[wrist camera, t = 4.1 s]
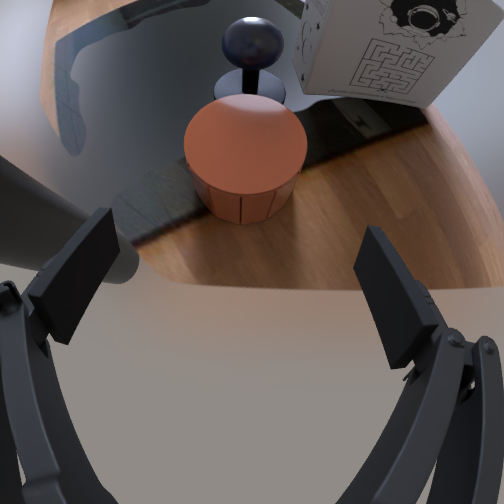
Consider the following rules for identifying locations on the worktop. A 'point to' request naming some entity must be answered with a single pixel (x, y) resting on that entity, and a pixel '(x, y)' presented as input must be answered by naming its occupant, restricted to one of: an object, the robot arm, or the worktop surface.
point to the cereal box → (389, 46)
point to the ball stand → (250, 85)
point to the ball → (252, 43)
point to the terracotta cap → (244, 156)
